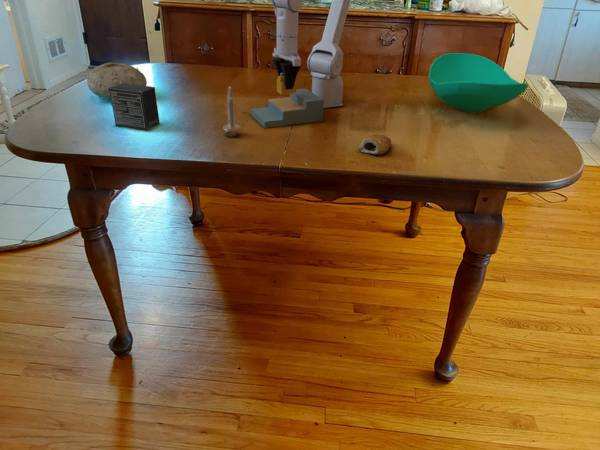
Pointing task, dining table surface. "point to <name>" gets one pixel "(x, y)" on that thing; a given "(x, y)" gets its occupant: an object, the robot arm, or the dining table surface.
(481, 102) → the table top decor
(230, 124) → the screw
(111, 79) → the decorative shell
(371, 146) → the pastry
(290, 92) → the block with handle
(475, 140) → the dining table surface
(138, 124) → the small box
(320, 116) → the step rack
